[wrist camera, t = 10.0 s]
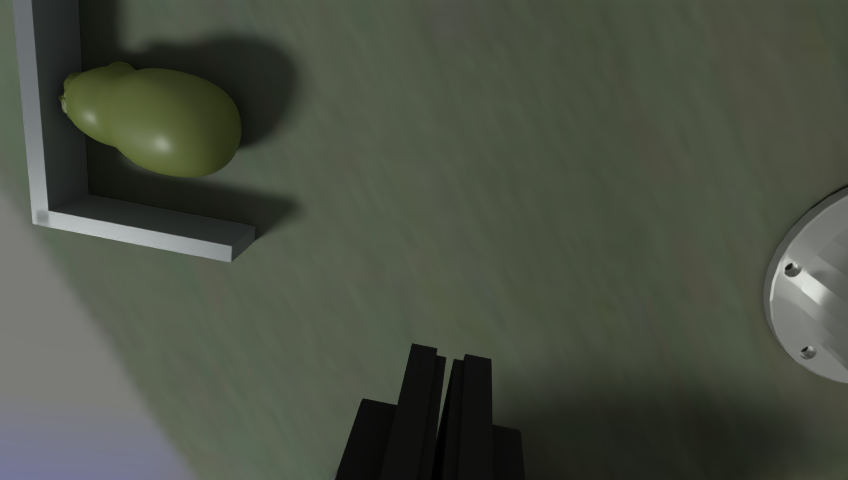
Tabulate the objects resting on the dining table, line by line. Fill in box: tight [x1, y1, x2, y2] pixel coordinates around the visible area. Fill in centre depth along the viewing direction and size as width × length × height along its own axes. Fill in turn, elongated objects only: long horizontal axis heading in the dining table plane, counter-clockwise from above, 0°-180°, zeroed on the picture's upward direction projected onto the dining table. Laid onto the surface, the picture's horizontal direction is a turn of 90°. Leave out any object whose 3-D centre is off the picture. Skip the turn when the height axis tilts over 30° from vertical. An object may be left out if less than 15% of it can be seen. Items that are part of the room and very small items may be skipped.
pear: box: [58, 61, 242, 177], centre depth 31 cm, size 6×5×10 cm
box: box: [13, 0, 256, 262], centre depth 31 cm, size 12×16×4 cm
